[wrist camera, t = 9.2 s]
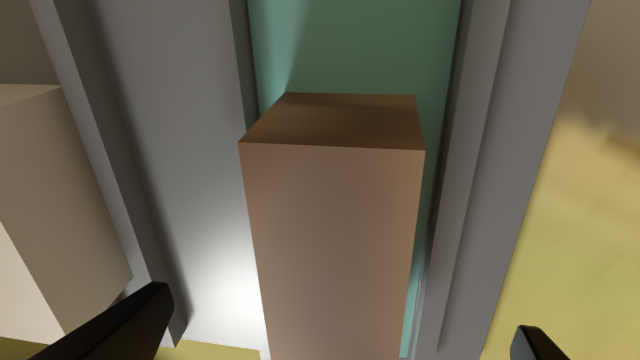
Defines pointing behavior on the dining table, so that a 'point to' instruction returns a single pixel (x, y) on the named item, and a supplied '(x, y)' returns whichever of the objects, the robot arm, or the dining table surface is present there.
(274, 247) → the walnut plug
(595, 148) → the dining table surface
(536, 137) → the grooved grey tray
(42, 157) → the off-white plug
